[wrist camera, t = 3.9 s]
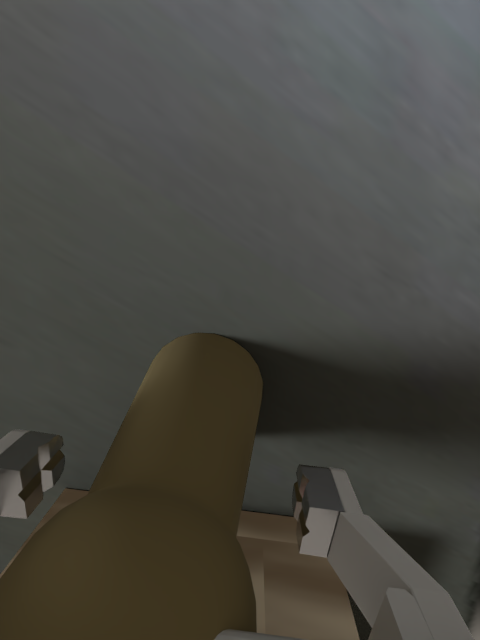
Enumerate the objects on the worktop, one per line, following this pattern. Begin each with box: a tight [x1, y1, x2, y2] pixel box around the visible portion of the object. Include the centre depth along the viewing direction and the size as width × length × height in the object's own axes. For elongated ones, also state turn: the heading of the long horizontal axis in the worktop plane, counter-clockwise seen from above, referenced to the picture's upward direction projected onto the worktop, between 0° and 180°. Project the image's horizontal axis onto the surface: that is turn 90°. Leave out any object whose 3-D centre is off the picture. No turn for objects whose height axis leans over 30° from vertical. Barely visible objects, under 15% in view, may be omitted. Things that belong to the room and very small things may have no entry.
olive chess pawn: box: [0, 333, 263, 640], centre depth 9 cm, size 6×6×11 cm
